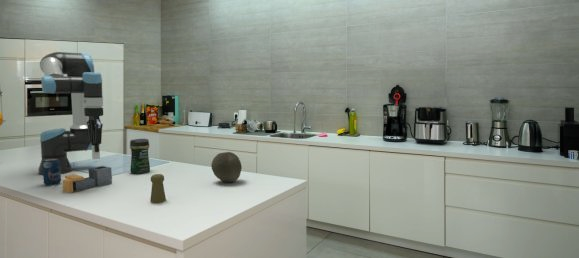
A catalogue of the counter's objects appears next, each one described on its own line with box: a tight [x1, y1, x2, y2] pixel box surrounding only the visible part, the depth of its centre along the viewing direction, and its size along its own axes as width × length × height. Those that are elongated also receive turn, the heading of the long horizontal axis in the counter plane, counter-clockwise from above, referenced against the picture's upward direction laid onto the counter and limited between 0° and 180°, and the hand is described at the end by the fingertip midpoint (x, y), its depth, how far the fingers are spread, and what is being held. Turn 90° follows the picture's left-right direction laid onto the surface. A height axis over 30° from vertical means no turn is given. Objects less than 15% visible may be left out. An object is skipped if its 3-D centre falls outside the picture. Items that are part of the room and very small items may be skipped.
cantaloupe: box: [210, 151, 243, 183], centre depth 177 cm, size 14×14×15 cm
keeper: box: [61, 173, 85, 194], centre depth 162 cm, size 9×6×6 cm, turn 55°
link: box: [73, 165, 113, 192], centre depth 169 cm, size 16×7×8 cm, turn 148°
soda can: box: [42, 158, 62, 187], centre depth 172 cm, size 7×7×12 cm
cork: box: [150, 173, 167, 204], centre depth 147 cm, size 6×6×11 cm
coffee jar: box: [129, 138, 151, 175], centre depth 197 cm, size 10×8×19 cm
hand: (96, 158), depth 165 cm, fingers closed
